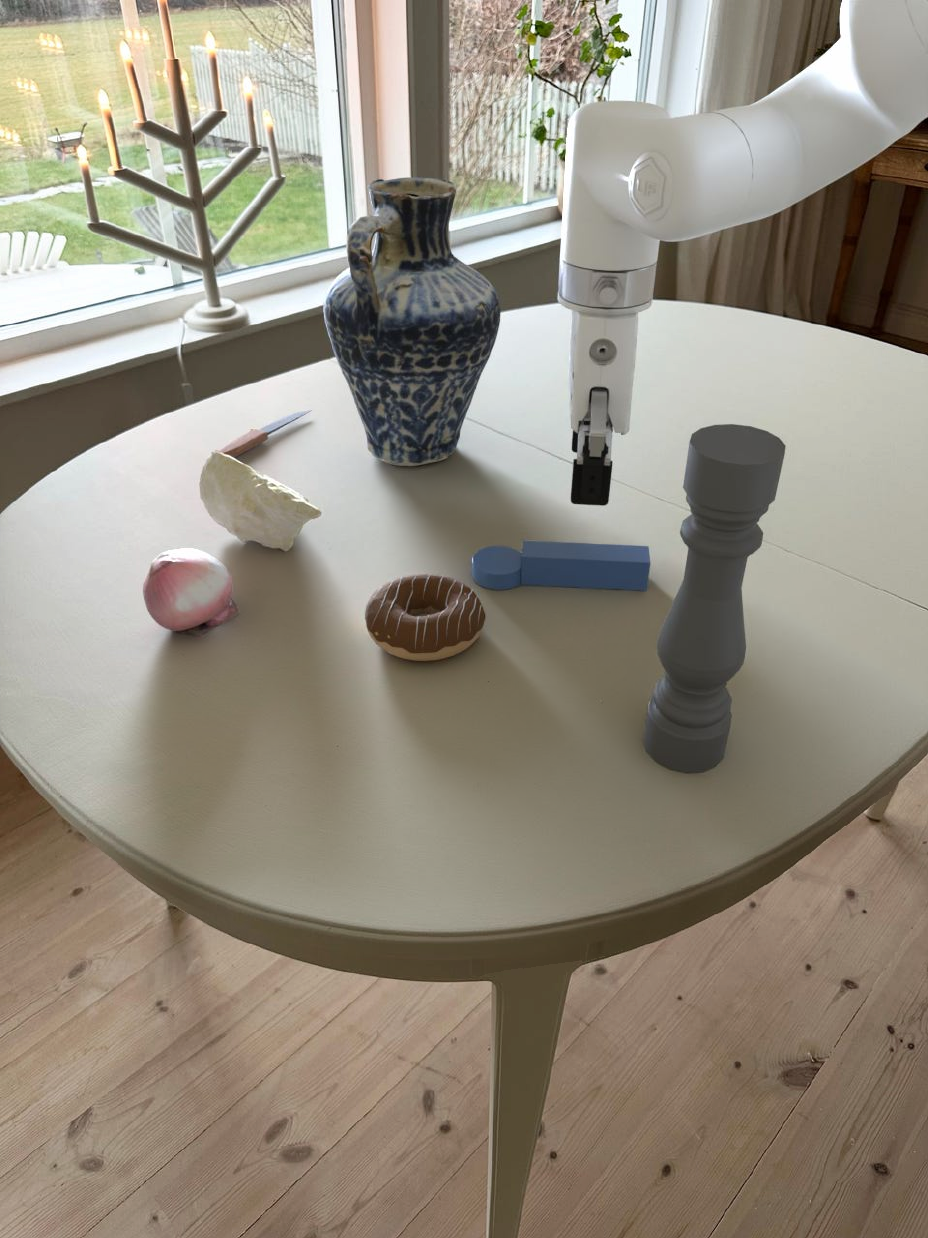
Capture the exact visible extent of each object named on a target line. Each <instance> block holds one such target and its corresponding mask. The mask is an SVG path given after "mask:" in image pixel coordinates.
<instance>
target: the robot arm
mask: <svg viewBox="0 0 928 1238" xmlns="http://www.w3.org/2000/svg"><path fill="white" fill-rule="evenodd" d="M840 4H841V5H840V11H839V12H840V13H839V30H840V31H839V32H840V38H839V39H838V40H837V41H836V42H835V43H834V44H833V45H832V46H831V47H830V48H829V49H828V50H827V51H825V53H823V54H822V55H821V56H820V57H819V58H817V59H816V60H815V61H814V62H813V63H811V64H810V65H808V66H807V67H806V68H804V69H803V70H802V71H800V72H798V74H796V75H794V77H792V78H791V79H789V80H788V81H787V82H785V83H783V84H782V85H781V86H779V87H777V88H776V89H775V90H774V91H772V92H771V93H769V94H767V95H766V96H764V97H763V98H761V99H759V100H758V101H756V102H754V103H751V104H749V105H742V106H741V105H740V106H733V107H728V108H727V107H726V108H722V109H717V110H716V109H715V110H712V111H706V112H701V113H700V112H699V113H694V114H689V115H683V116H675V117H671V115H670V113H669V112H668V111H667V110H666V109H665V108H664V107H661V106H659V105H658V104H654V103H650V102H643V101H634V100H604V101H602V100H601V101H595V102H590V103H586V104H584V105H582V106H580V107H578V108H577V109H576V110H575V111H573V114H572V115H571V117H570V119H569V122H568V127H567V135H566V136H567V137H566V149H565V150H566V151H565V168H564V185H563V201H562V202H563V203H562V219H561V236H560V252H559V265H558V282H557V283H558V285H557V302H558V303H559V304H560V305H561V306H562V307H563V308H565V309H568V310H570V311H571V316H570V317H571V318H570V331H569V333H570V334H569V355H568V397H569V415H570V428H571V430H572V437H571V451H572V453H576V458H574V459H573V461H572V463H573V464H572V476H571V490H570V503H571V504H573V505H586V506H607V505H608V504H609V501H610V491H611V483H612V482H611V481H612V473H613V460H611V459H612V444H613V433H615V434H620V435H621V436H625V435H627V434H628V433H629V431H630V424H631V414H632V413H631V412H632V402H633V392H634V391H633V389H634V381H635V372H636V371H635V369H636V359H637V348H638V336H639V313H641V312H644V311H647V310H648V309H649V308H650V307H651V306H652V305H653V300H654V293H655V292H654V291H655V283H656V275H657V267H658V259H659V258H658V257H659V248H660V242H661V241H662V242H670V243H671V242H672V243H673V242H683V241H688V240H693V239H696V238H700V237H703V236H706V235H710V234H713V233H717V232H719V231H722V230H726V229H729V228H733V227H736V226H741V225H744V224H748V223H753V222H757V221H759V220H763V219H766V218H767V217H768V218H769V217H771V216H774V215H775V214H778V213H780V212H782V211H784V210H786V209H787V208H790V207H792V206H793V205H795V204H797V203H799V202H801V201H803V200H804V199H806V198H808V197H810V196H812V195H813V194H815V193H816V192H818V191H820V190H821V189H823V188H825V187H827V186H828V185H830V184H832V183H834V182H836V181H838V180H839V179H841V178H843V177H844V176H847V175H848V174H850V173H851V172H853V171H855V170H856V169H858V168H859V167H861V166H863V165H864V164H866V163H867V162H869V161H870V160H872V159H873V158H874V157H877V156H878V155H879V154H881V153H882V152H883V151H885V150H886V149H888V148H889V147H890V146H891V145H893V144H894V143H895V142H896V141H898V140H899V139H901V138H903V137H904V136H906V135H908V134H909V133H910V132H911V131H913V130H914V129H915V128H916V127H917V126H918V125H919V124H921V122H923V121H924V120H925V119H927V118H928V0H842V2H841V3H840ZM613 431H614V432H613Z"/></svg>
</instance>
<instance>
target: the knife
mask: <svg viewBox="0 0 928 1238" xmlns="http://www.w3.org/2000/svg"><path fill="white" fill-rule="evenodd" d="M310 412H313V410H304V411H297V412H295V413H292V414H289V415H286V416H283V417H282V418H280V419H278V420H275V421H273V422H272V423H269V424H267V425H265V426H263V427H261V428H252V427H251V428H250V431H248V432H246V433H245V434H243V435H241V436H239V437H237V438H235V439H234V440H233V441H232V442H230V443H229V444H227V445H225V446H224V447H223V448H221V449H215V450H213V451H212V452H211V454H212V453H213V452H215V451H217V452H221V453H223V454H226V455H229V456H231V457H233V458H235V457H237V456H239V455H242V454H243V453H245V452H248V451H249V450H250V449H252V448H254V447H256V446H258V445H260V444H261V443H263V442H265V441H266V440H268V439H269V435H271V434H273V433H275V432H277V431H278V430H280V429H282V428H284V427H285V426H287V425H289V424H290V423H291V424H292V423H293V422H294V421H297V420H298V419H300V418H301V417H303V416H305V415H307V414H308V413H310ZM211 454H210V455H211Z"/></svg>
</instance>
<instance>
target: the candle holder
mask: <svg viewBox="0 0 928 1238" xmlns="http://www.w3.org/2000/svg"><path fill="white" fill-rule="evenodd" d="M786 447H787V446H786V444H785V443H784V442H783V441H782V439H781V438H780V437H778V436H777V435H775V434H773V433H771V432H770V431H768V430H765V429H762V428H757V427H754V426H751V425H742V424H736V423H735V424H734V423H728V424H727V423H723V424H713V425H709V426H705V427H700V428H699V429H697V430H695V432H693V433H692V434H691V436H690V439H689V444H688V451H687V457H686V464H685V470H684V471H685V472H684V478H683V485H682V488H683V490H684V491H685V494H686V495H685V500H686V502H687V504H688V506H689V508H690V511H689V512H690V513H691V514H690V515H689V516H687V517H686V518H685V519H683V520H682V522H681V526H680V532H679V533H680V534H679V535H680V537H681V539H682V541H683V543H684V545H685V546H686V547H687V549H688V550H687V556H686V561H685V567H684V575H683V580H682V582H681V584H680V587H679V589H678V591H677V593H676V595H675V597H674V599H673V601H672V605H671V606H670V609H669V611H668V613H667V615H666V618H665V620H664V621H663V624H662V625H661V628H660V630H659V634H658V638H657V642H656V652H657V656H658V659H659V662H660V663H661V666H662V668H663V670H664V675H663V676H662V677H661V678H660V679H659V680H658V681H657V682H655V685H654V687H653V688H654V689H653V692H652V696H651V697H650V698H649V700H648V701H649V702H648V704H647V709H646V716H645V723H644V729H643V737H642V743H643V746H644V748H645V751H646V754H648V755H649V756H650V758H652V760H653V761H654V762H655V763H656V764H658V765H661V766H662V767H664V768H666V769H668V770H670V771H674V772H675V771H676V772H679V773H685V774H694V773H696V774H697V773H704V772H707V771H709V770H711V769H714V768H716V767H717V766H718V765H719V764H720V762H722V761H723V759H724V758H725V754H726V753H725V752H726V749H727V745H728V744H727V743H728V739H729V735H730V731H731V726H732V725H731V724H732V718H733V714H732V712H731V708H732V701H733V698H732V696H731V694H730V692H729V689H728V688H727V685H728V682H729V681H730V680H731V679H732V678H734V676H735V675H736V674H737V673H738V672H740V670H741V668H742V667H743V665H744V663H745V658H746V652H747V639H746V626H745V616H744V602H743V588H742V587H743V582H744V577H745V572H746V568H747V564H748V563H747V562H748V559H749V557H750V556H752V555H753V554H755V553H756V552H757V551H759V549H760V548H761V547H762V545H763V539H764V531H763V529H762V528H761V527H760V525H759V524H758V523H759V521H760V519H761V518H762V516H764V515H765V514H766V513H767V512H768V511H769V508H770V507H769V506H770V505H771V504H772V503H773V502H774V501H775V500H776V496H777V492H778V487H779V483H780V478H781V473H782V468H783V464H784V458H785V455H786Z"/></svg>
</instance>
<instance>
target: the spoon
mask: <svg viewBox="0 0 928 1238" xmlns="http://www.w3.org/2000/svg"><path fill="white" fill-rule="evenodd" d="M650 570H651V556H650V547H649V546H648V545H634V544H633V545H632V544H609V543H591V542H590V543H587V542H566V541H544V540H543V541H542V540H522V546H521V551H520V550H518V549H517V548H515V547H512V546H506V545H490V546H486V547H483V548H481V549H478V550H477V551H476V552H475V553H474V554H473V555H472V557H471V579H472V580H473V581H474V582H475V584H477V585H479V586H480V587H482V588H485V589H488V590H494V591H502V590H503V591H504V590H509V589H513V588H516V587H519V585H522V586H541V587H542V586H543V587H561V588H563V587H564V588H581V589H604V590H620V591H621V590H622V591H642V592H643V591H644V592H646V591H648V585H649V577H650Z"/></svg>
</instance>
